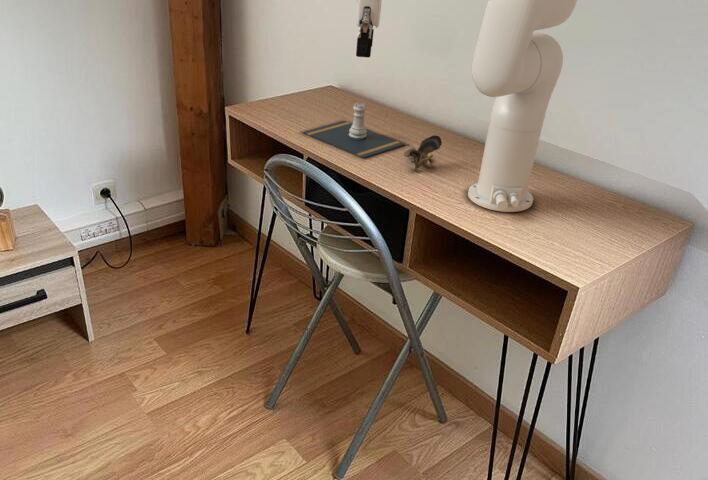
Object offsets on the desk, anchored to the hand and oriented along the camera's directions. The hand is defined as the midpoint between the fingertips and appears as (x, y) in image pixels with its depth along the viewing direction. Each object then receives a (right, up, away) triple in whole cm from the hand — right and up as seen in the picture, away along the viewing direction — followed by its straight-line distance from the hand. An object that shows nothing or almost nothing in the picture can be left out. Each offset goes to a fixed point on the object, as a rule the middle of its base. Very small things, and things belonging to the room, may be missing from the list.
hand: (364, 51), depth 146 cm
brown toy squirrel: (+12, -27, -4) cm, 30 cm away
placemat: (-2, -18, +9) cm, 20 cm away
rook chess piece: (-1, -17, +10) cm, 20 cm away
